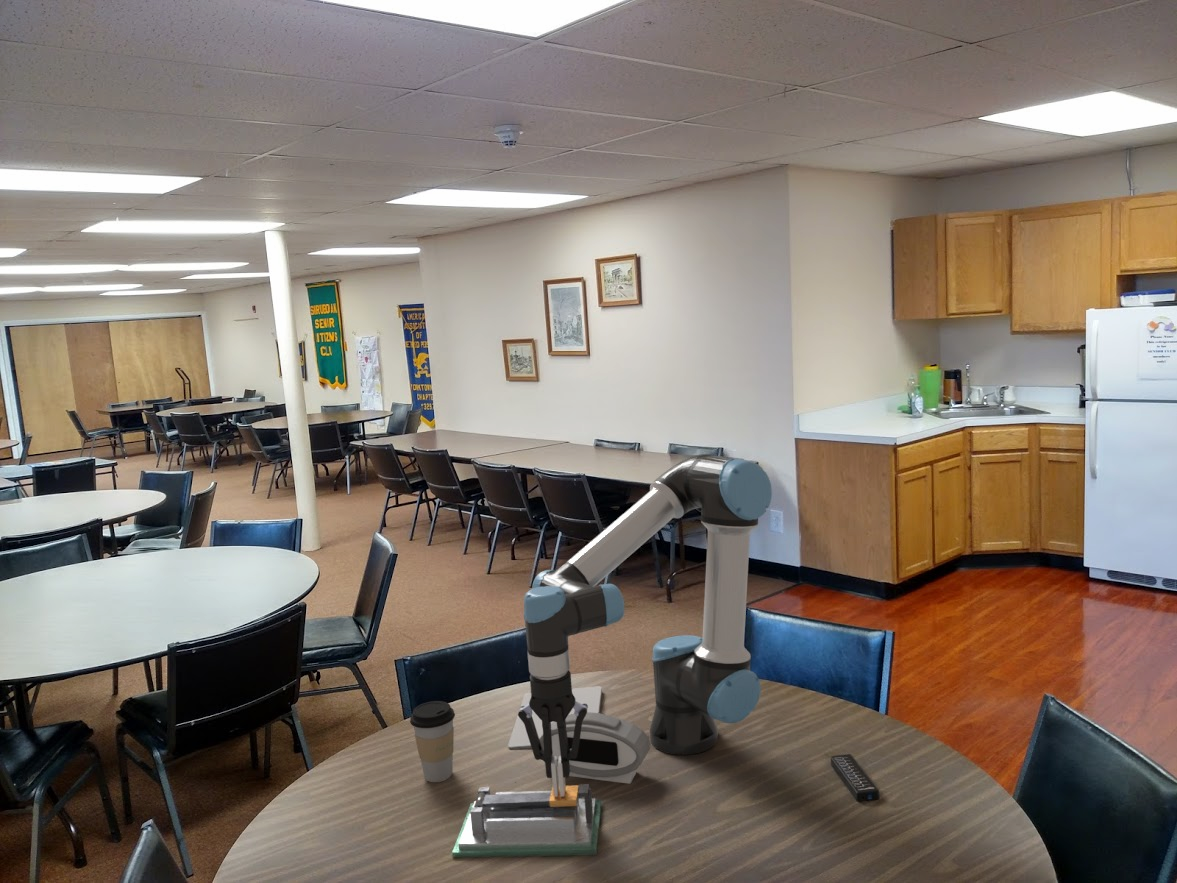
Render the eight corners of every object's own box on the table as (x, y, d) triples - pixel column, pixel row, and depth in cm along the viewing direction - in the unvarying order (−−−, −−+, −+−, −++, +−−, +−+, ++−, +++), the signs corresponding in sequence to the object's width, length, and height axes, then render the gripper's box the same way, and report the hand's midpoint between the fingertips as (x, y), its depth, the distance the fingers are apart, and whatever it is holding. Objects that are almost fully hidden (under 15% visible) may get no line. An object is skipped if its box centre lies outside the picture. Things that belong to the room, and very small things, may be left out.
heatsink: (601, 804, 169) (598, 766, 168) (596, 854, 153) (592, 812, 152) (471, 807, 171) (467, 769, 170) (452, 857, 156) (448, 815, 154)
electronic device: (595, 748, 193) (595, 739, 193) (507, 751, 194) (506, 742, 194) (602, 693, 221) (601, 685, 221) (525, 696, 223) (524, 688, 222)
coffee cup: (451, 787, 179) (444, 719, 177) (408, 785, 181) (401, 718, 179) (466, 764, 189) (460, 699, 187) (426, 763, 191) (419, 698, 189)
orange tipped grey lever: (579, 794, 163) (578, 785, 163) (577, 808, 158) (576, 799, 158) (479, 798, 165) (478, 789, 165) (474, 813, 160) (473, 804, 160)
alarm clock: (539, 774, 182) (534, 717, 181) (550, 760, 188) (545, 705, 186) (644, 788, 174) (640, 728, 173) (652, 772, 180) (648, 714, 178)
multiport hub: (851, 763, 179) (850, 753, 178) (880, 802, 164) (879, 790, 164) (830, 766, 178) (829, 755, 178) (857, 804, 164) (857, 793, 164)
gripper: (588, 662, 161) (597, 781, 164) (516, 665, 162) (526, 783, 165) (585, 678, 153) (594, 802, 156) (509, 681, 154) (520, 804, 157)
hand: (559, 792), depth 161 cm, fingers closed, pressing on orange tipped grey lever
